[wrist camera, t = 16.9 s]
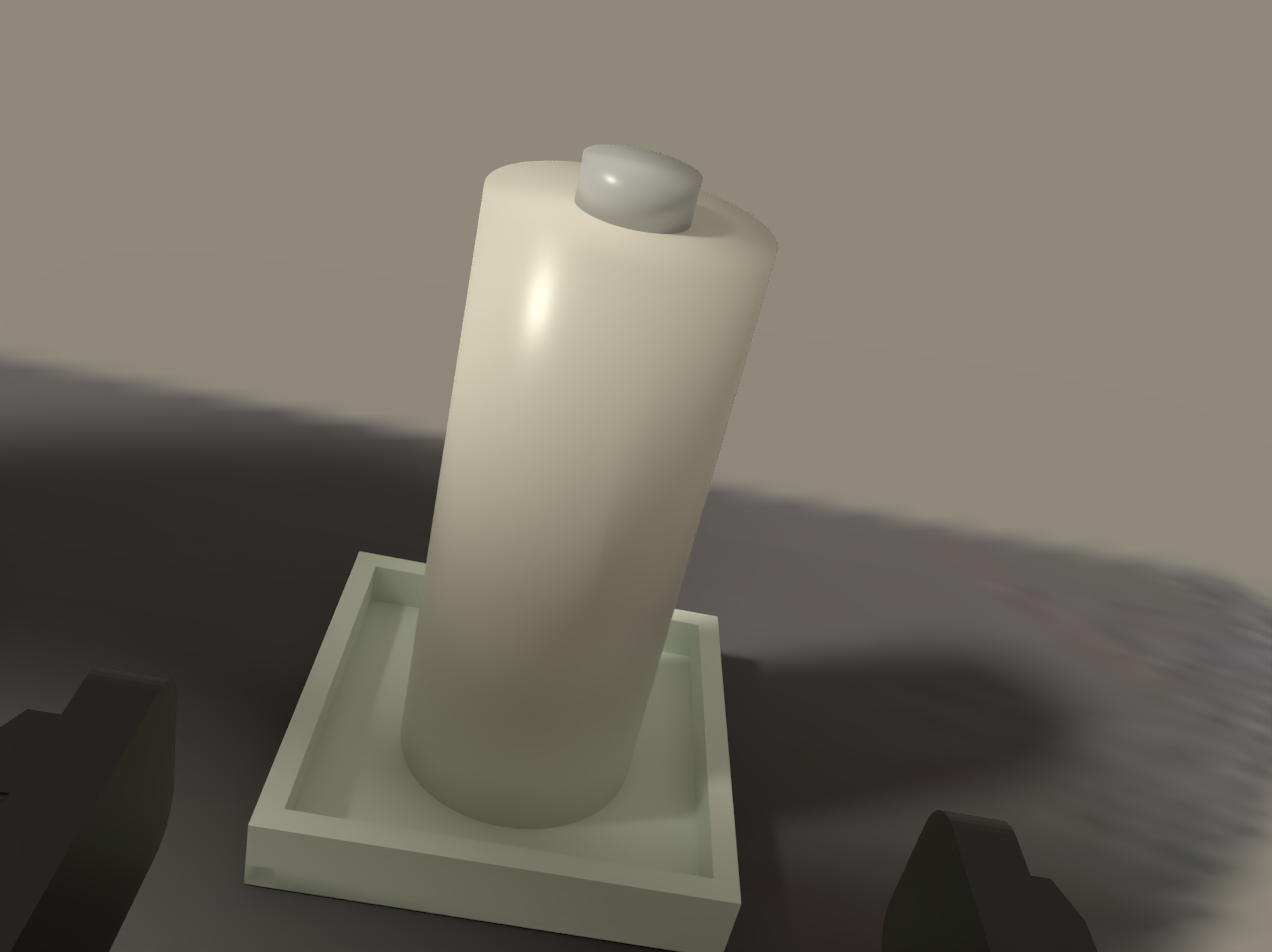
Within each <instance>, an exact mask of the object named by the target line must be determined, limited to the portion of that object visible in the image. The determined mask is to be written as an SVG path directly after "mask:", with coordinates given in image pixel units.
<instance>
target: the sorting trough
mask: <svg viewBox="0 0 1272 952" xmlns="http://www.w3.org/2000/svg"><path fill="white" fill-rule="evenodd" d="M425 568H426V563H421V562H415V561H410V560H404V559H399V558H393V557H388V556H382V555H377V554H371V553H366V552H361V551H359V554H358V556H357V559H356V561H355V563H354V566H353V568H352V571H351V573H350V576H349V578H348V581H347V583H346V586H345V588H344V591H343V593H342V595H341V598H340V600H339V603H338V605H337V608H336V610H335V613H334V615H333V618H332V620H331V623H330V625H329V627H328V630H327V632H326V635H325V637H324V640H323V642H322V645H321V647H320V650H319V652H318V655H317V657H316V659H315V662H314V664H313V667H312V669H311V672H310V674H309V677H308V679H307V682H306V684H305V687H304V689H303V691H302V694H301V696H300V699H299V701H298V704H297V706H296V709H295V711H294V714H293V716H292V719H291V721H290V723H289V726H288V728H287V731H286V733H285V736H284V738H283V741H282V743H281V746H280V748H279V751H278V753H277V755H276V758H275V760H274V763H273V765H272V768H271V770H270V773H269V775H268V778H267V780H266V783H265V785H264V787H263V790H262V792H261V795H260V797H259V800H258V802H257V805H256V807H255V810H254V812H253V815H252V817H251V819H250V822H249V824H248V835H247V848H246V862H245V876H244V884H249V885H256V886H262V887H268V888H275V889H281V890H288V891H294V892H301V893H307V894H313V895H320V896H326V897H333V898H339V899H345V900H352V901H358V902H365V903H371V904H378V905H384V906H390V907H397V908H403V909H410V910H416V911H422V912H429V913H435V914H442V915H448V916H455V917H461V918H467V919H474V920H480V921H487V922H493V923H499V924H506V925H512V926H519V927H525V928H532V929H538V930H544V931H551V932H557V933H564V934H570V935H576V936H583V937H589V938H596V939H602V940H609V941H615V942H621V943H628V944H634V945H641V946H647V947H653V948H660V949H666V950H673V951H679V952H724V950H725V947H726V945H727V942H728V939H729V936H730V934H731V931H732V928H733V926H734V923H735V920H736V917H737V915H738V912H739V909H740V907H741V894H740V882H739V870H738V858H737V846H736V834H735V822H734V810H733V798H732V785H731V773H730V761H729V749H728V737H727V725H726V713H725V701H724V689H723V677H722V665H721V653H720V641H719V629H718V617H716V616H711V615H705V614H700V613H694V612H689V611H683V610H678V609H674V613H673V616H672V620H671V623H670V627H669V630H668V634H667V637H666V641H665V644H664V648H663V651H662V655H661V658H660V662H659V665H658V669H657V672H656V676H655V679H654V683H653V686H652V690H651V693H650V697H649V700H648V704H647V707H646V710H645V714H644V717H643V721H642V724H641V728H640V731H639V735H638V738H637V742H636V745H635V749H634V752H633V756H632V759H631V763H630V766H629V770H628V773H627V776H626V779H625V782H624V783H623V785H622V787H621V789H620V791H619V792H618V793H617V794H616V796H615V797H614V798H613V799H612V800H611V801H610V802H609V803H608V804H607V805H606V806H605V807H603V808H602V809H601V810H599V811H597V812H596V813H594V814H593V815H591V816H589V817H587V818H584V819H582V820H580V821H577V822H574V823H571V824H568V825H564V826H559V827H553V828H545V829H515V828H507V827H501V826H496V825H492V824H487V823H484V822H481V821H478V820H475V819H472V818H470V817H467V816H465V815H463V814H461V813H459V812H456V811H455V810H453V809H451V808H450V807H448V806H446V805H445V804H443V803H442V802H440V801H439V800H438V799H436V798H435V797H434V796H432V795H431V794H430V793H429V792H428V791H427V790H426V789H425V788H424V787H423V786H422V785H421V784H420V783H419V781H418V780H417V779H416V778H415V776H414V775H413V774H412V772H411V770H410V768H409V767H408V765H407V763H406V760H405V757H404V755H403V752H402V746H401V724H402V718H403V711H404V705H405V698H406V692H407V685H408V679H409V672H410V666H411V659H412V653H413V646H414V640H415V633H416V626H417V620H418V613H419V607H420V600H421V594H422V587H423V581H424V574H425Z"/></svg>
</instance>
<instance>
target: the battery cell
mask: <svg viewBox="0 0 1272 952" xmlns="http://www.w3.org/2000/svg"><path fill="white" fill-rule="evenodd" d="M702 178H703V177H702V175H701V173H699V171H698V170H696V169H695V168H693V167H692V166H690V165H688V164H686V163H684V162H682V161H680V160H677V159H675V158H672V157H669V156H667V155H664V154H661V153H657V152H653V151H649V150H645V149H641V148H636V147H630V146H622V145H610V144H609V145H607V144H605V145H604V144H602V145H593V146H589V147H587V148H586V149H585V150H584V152H583V157H582V162H581V163H580V162H570V161H530V162H522V163H515V164H511V165H507V166H503V167H501V168H498V169H496V170H494V171H493V172H491V173H490V174H489V175H488V176H487V178H486V180H485V183H484V189H483V196H482V202H481V209H480V215H479V222H478V228H477V235H476V242H475V248H474V254H473V261H472V268H471V274H470V281H469V287H468V294H467V300H466V307H465V313H464V320H463V327H462V333H461V340H460V346H459V352H458V359H457V365H456V372H455V379H454V386H453V391H452V398H451V405H450V411H449V418H448V424H447V431H446V437H445V444H444V450H443V457H442V463H441V470H440V476H439V483H438V489H437V496H436V502H435V509H434V516H433V522H432V529H431V535H430V542H429V548H428V555H427V561H426V568H425V574H424V581H423V587H422V594H421V600H420V607H419V613H418V620H417V626H416V633H415V640H414V646H413V653H412V659H411V666H410V672H409V679H408V685H407V692H406V698H405V705H404V711H403V718H402V724H401V746H402V752H403V755H404V757H405V760H406V763H407V765H408V767H409V768H410V770H411V772H412V774H413V775H414V776H415V778H416V779H417V780H418V781H419V783H420V784H421V785H422V786H423V787H424V788H425V789H426V790H427V791H428V792H429V793H430V794H431V795H432V796H434V797H435V798H436V799H438V800H439V801H440V802H442V803H443V804H445V805H446V806H448V807H450V808H451V809H453V810H455V811H456V812H459V813H461V814H463V815H465V816H467V817H470V818H472V819H475V820H478V821H481V822H484V823H487V824H492V825H496V826H501V827H507V828H515V829H545V828H553V827H559V826H564V825H568V824H571V823H574V822H577V821H580V820H582V819H584V818H587V817H589V816H591V815H593V814H594V813H596V812H597V811H599V810H601V809H602V808H603V807H605V806H606V805H607V804H608V803H609V802H610V801H611V800H612V799H613V798H614V797H615V796H616V794H617V793H618V792H619V791H620V789H621V787H622V785H623V783H624V782H625V779H626V776H627V773H628V770H629V766H630V763H631V759H632V756H633V752H634V749H635V745H636V742H637V738H638V735H639V731H640V728H641V724H642V721H643V717H644V714H645V710H646V707H647V704H648V700H649V697H650V693H651V690H652V686H653V683H654V679H655V676H656V672H657V669H658V665H659V662H660V658H661V655H662V651H663V648H664V644H665V641H666V637H667V634H668V630H669V627H670V623H671V620H672V616H673V613H674V609H675V606H676V602H677V599H678V595H679V592H680V588H681V585H682V581H683V578H684V574H685V571H686V568H687V564H688V561H689V557H690V554H691V550H692V547H693V543H694V540H695V536H696V533H697V529H698V526H699V522H700V519H701V515H702V512H703V508H704V505H705V501H706V498H707V494H708V491H709V487H710V484H711V480H712V477H713V473H714V470H715V466H716V463H717V459H718V456H719V452H720V449H721V445H722V442H723V438H724V435H725V431H726V428H727V424H728V421H729V417H730V414H731V410H732V407H733V403H734V400H735V397H736V393H737V390H738V386H739V383H740V379H741V376H742V372H743V368H744V365H745V362H746V358H747V355H748V351H749V348H750V344H751V341H752V337H753V334H754V330H755V327H756V323H757V320H758V316H759V313H760V309H761V306H762V302H763V299H764V295H765V292H766V288H767V285H768V281H769V278H770V275H771V271H772V267H773V264H774V261H775V257H776V253H777V250H778V243H777V241H776V238H775V236H774V235H773V234H772V232H771V231H770V230H769V229H768V228H767V227H766V226H765V225H764V224H763V223H762V222H760V221H759V220H758V219H756V218H755V217H753V216H752V215H750V214H749V213H747V212H746V211H744V210H742V209H740V208H738V207H737V206H735V205H733V204H731V203H729V202H727V201H725V200H723V199H720V198H718V197H716V196H714V195H711V194H709V193H706V192H704V191H701V190H700V187H701V183H702Z"/></svg>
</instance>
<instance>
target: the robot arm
mask: <svg viewBox="0 0 1272 952" xmlns="http://www.w3.org/2000/svg"><path fill="white" fill-rule="evenodd" d="M175 727H176V686H175V682H174V681H173V680H172V679H168V678H162V677H156V676H150V675H144V674H138V673H132V672H126V671H120V670H114V669H108V668H102V667H97V668H95V669H94V670H92V671H91V672H90V673H89V675H88V676H87V677H86V679H85V680H84V682H83V683H82V685H81V686H80V688H79V689H78V691H77V692H76V694H75V695H74V697H73V698H72V700H71V701H70V703H69V704H68V706H67V707H66V709H65V710H64V712H63V713H62V715H60V714H53V713H47V712H41V711H35V710H29V709H27V710H26V711H24V712H23V713H21V714H20V715H18V716H17V717H15V718H14V719H12V720H11V721H9V722H8V723H6V724H5V725H3V726H2V727H0V952H109V951H110V949H111V947H112V945H113V942H114V940H115V938H116V936H117V934H118V932H119V930H120V928H121V926H122V924H123V922H124V920H125V918H126V915H127V913H128V911H129V909H130V907H131V905H132V903H133V901H134V899H135V897H136V895H137V893H138V890H139V888H140V886H141V884H142V882H143V880H144V878H145V876H146V874H147V872H148V870H149V868H150V866H151V863H152V861H153V859H154V857H155V855H156V853H157V851H158V848H159V846H160V843H161V841H162V838H163V835H164V832H165V829H166V826H167V822H168V818H169V814H170V809H171V804H172V799H173V790H174V761H175ZM882 952H1097V950H1096V947H1095V945H1094V942H1093V940H1092V937H1091V935H1090V932H1089V930H1088V927H1087V925H1086V923H1085V921H1084V920H1083V918H1082V917H1081V916H1080V915H1079V913H1078V912H1077V911H1076V910H1075V908H1074V907H1073V906H1072V905H1071V904H1070V902H1069V901H1068V900H1067V899H1066V897H1065V896H1064V895H1063V894H1062V892H1061V891H1060V890H1059V889H1058V887H1057V886H1056V885H1055V884H1054V882H1053V881H1052V880H1051V879H1048V878H1042V877H1036V876H1030V874H1029V871H1028V868H1027V865H1026V863H1025V860H1024V857H1023V854H1022V852H1021V849H1020V846H1019V844H1018V841H1017V838H1016V835H1015V833H1014V831H1013V829H1012V828H1011V826H1010V825H1009V824H1008V823H1007V822H1005V821H1001V820H995V819H989V818H983V817H977V816H971V815H965V814H959V813H953V812H947V811H941V810H937V811H935V812H933V813H932V814H931V815H930V817H929V818H928V820H927V821H926V823H925V825H924V828H923V830H922V832H921V834H920V837H919V839H918V841H917V843H916V845H915V848H914V850H913V852H912V854H911V856H910V859H909V861H908V863H907V865H906V868H905V870H904V872H903V874H902V876H901V879H900V881H899V883H898V885H897V887H896V890H895V892H894V894H893V896H892V898H891V901H890V903H889V906H888V909H887V912H886V916H885V921H884V927H883V936H882Z"/></svg>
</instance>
